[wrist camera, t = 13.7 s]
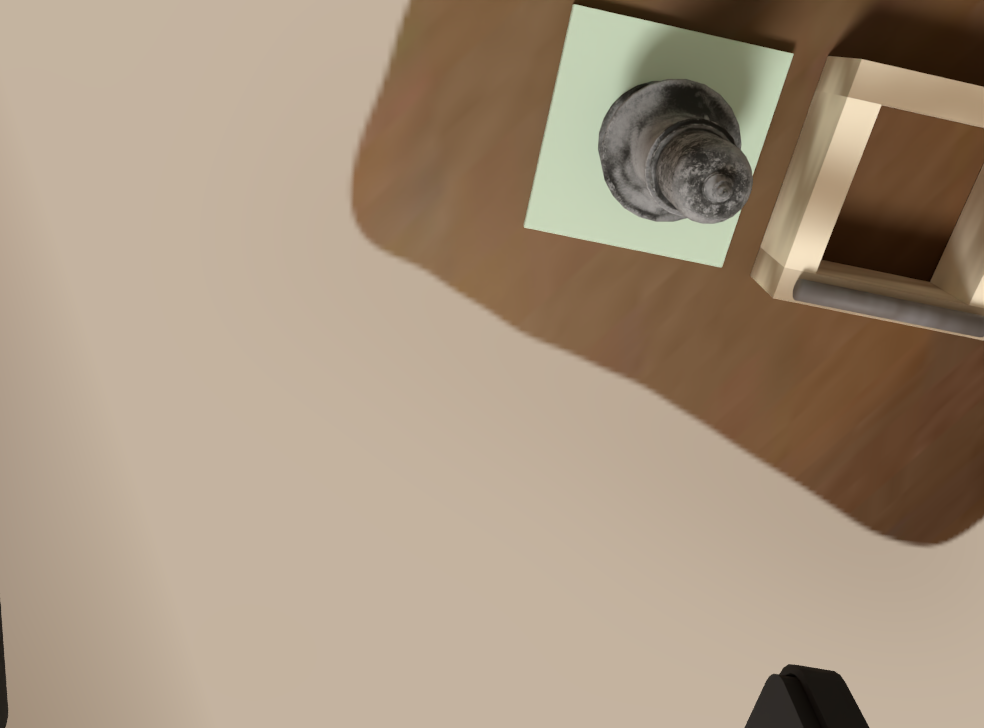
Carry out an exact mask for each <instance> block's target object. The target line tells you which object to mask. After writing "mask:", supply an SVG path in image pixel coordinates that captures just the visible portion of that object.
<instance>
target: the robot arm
mask: <svg viewBox="0 0 984 728" xmlns="http://www.w3.org/2000/svg"><path fill="white" fill-rule="evenodd" d="M7 718H8V702H7V688H6V674H5V660H4V646H3V632H2V618H1V604H0V728H5V727H6V723H7ZM745 728H869V726H868V724H867V723H866V720H865V719H864V717H863V715H862V713H861V711H860V709H859V707H858V705H857V704H856V702H855V700H854V698H853V696H852V694H851V692H850V690H849V688H848V687H847V685H846V683H845V681H844V680H843V679H842V677H841V676H840V675H839V674H838V673H836V672H835V671H830V670H824V669H818V668H811V667H805V666H799V665H790V664H789V665H787V666H786V667H784V668H783V669H782V671H781V673H780V674H779V675H778V674H772V675H771V676H770V677H769V678H768V679H767V681H766V683H765V686H764V687H763V689H762V692H761V694H760V696H759V698H758V700H757V702H756V704H755V706H754V709H753V711H752V713H751V715H750V717H749V719H748V721H747V724H746V726H745Z"/></svg>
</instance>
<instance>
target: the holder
mask: <svg viewBox="0 0 984 728" xmlns="http://www.w3.org/2000/svg"><path fill="white" fill-rule="evenodd" d="M881 105H883V106H888V107H892V108H897V109H901V110H906V111H910V112H914V113H919V114H923V115H928V116H932V117H937V118H941V119H946V120H950V121H955V122H959V123H964V124H968V125H973V126H977V127H982V128H984V87H982V86H978V85H973V84H969V83H965V82H960V81H956V80H951V79H947V78H943V77H938V76H934V75H929V74H925V73H921V72H916V71H912V70H907V69H903V68H899V67H894V66H890V65H886V64H881V63H877V62H872V61H868V60H864V59H856V58H845V57H835V56H828V57H827V60H826V63H825V66H824V68H823V71H822V74H821V77H820V80H819V82H818V85H817V88H816V91H815V94H814V97H813V99H812V102H811V105H810V108H809V111H808V114H807V116H806V119H805V122H804V125H803V128H802V130H801V133H800V136H799V139H798V142H797V145H796V147H795V150H794V153H793V156H792V159H791V162H790V164H789V167H788V170H787V173H786V176H785V179H784V181H783V184H782V187H781V190H780V193H779V195H778V198H777V201H776V204H775V207H774V210H773V212H772V215H771V218H770V221H769V224H768V227H767V229H766V232H765V235H764V238H763V241H762V243H761V246H760V249H759V252H758V255H757V258H756V260H755V263H754V266H753V269H752V272H751V275H750V276H751V277H752V278H753V279H754V280H755V281H756V282H757V283H758V284H759V285H760V286H761V287H762V288H763V289H764V290H765V291H766V292H767V293H768V294H769V295H770V296H771V297H772V298H775V299H780V300H785V301H790V302H795V303H800V304H805V305H810V306H815V307H820V308H825V309H830V310H835V311H840V312H845V313H850V314H855V315H860V316H865V317H870V318H875V319H879V320H884V321H889V322H894V323H899V324H904V325H909V326H914V327H919V328H924V329H929V330H934V331H939V332H944V333H949V334H954V335H959V336H964V337H969V338H974V339H979V340H984V164H983V166H982V169H981V171H980V173H979V175H978V177H977V180H976V182H975V184H974V186H973V188H972V191H971V193H970V195H969V197H968V199H967V202H966V204H965V206H964V208H963V210H962V213H961V215H960V217H959V219H958V221H957V224H956V226H955V228H954V230H953V232H952V235H951V237H950V239H949V241H948V243H947V246H946V248H945V250H944V252H943V254H942V257H941V259H940V261H939V263H938V265H937V268H936V270H935V272H934V274H933V276H932V279H931V281H930V282H928V281H923V280H918V279H913V278H908V277H903V276H898V275H894V274H889V273H884V272H879V271H874V270H869V269H864V268H860V267H855V266H850V265H845V264H840V263H835V262H830V261H826V260H821V259H822V256H823V254H824V251H825V249H826V246H827V243H828V241H829V238H830V236H831V233H832V231H833V228H834V225H835V223H836V220H837V218H838V215H839V213H840V210H841V208H842V205H843V202H844V200H845V197H846V195H847V192H848V190H849V187H850V184H851V182H852V179H853V177H854V174H855V172H856V169H857V166H858V164H859V161H860V159H861V156H862V154H863V151H864V149H865V146H866V143H867V141H868V138H869V136H870V133H871V131H872V128H873V125H874V123H875V120H876V118H877V115H878V113H879V110H880V107H881Z"/></svg>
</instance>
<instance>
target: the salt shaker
mask: <svg viewBox="0 0 984 728" xmlns="http://www.w3.org/2000/svg"><path fill="white" fill-rule="evenodd" d="M741 145H742V143H741V135H740V127H739V124H738V121H737V119H736V117H735V114H734V112H733V110H732V108H731V107H730V105H729V104H728V103H727V102H726V101H725V99H724V98H723V97H722V96H721V95H720V94H719V93H717V92H716V91H714V90H713V89H711V88H710V87H708V86H707V85H705V84H702V83H699V82H695V81H692V80H688V79H666V80H662V81H651V82H647V83H643V84H640V85H637V86H635V87H633V88H632V89H630V90H628V91H627V92H625V93H623V94H622V95H621V96H620V97H619V98H618V99H617V100H616V101H615V102H614V103H613V104H612V105H611V107H610V109H609V110H608V112H607V114H606V115H605V117H604V119H603V122H602V125H601V128H600V131H599V139H598V151H599V156H600V161H601V166H602V170H603V175H604V180H605V182H606V184H607V186H608V188H609V190H610V191H611V193H612V195H613V197H614V198H615V199H616V200H617V201H618V202H619V203H620V204H621V205H622V206H623V207H624V208H625V209H627V210H628V211H630V212H632V213H633V214H635V215H637V216H638V217H641V218H644V219H648V220H652V221H655V222H674V221H678V220H682V219H686V218H688V219H690V220H691V221H695V222H698V223H702V224H715V223H719V222H723V221H725V220H727V219H729V218H731V217H733V216H734V215H735V214H736V213H738V212H739V211H740V210H741V209H742V207H743V206H744V205H745V203H746V202H747V200H748V198H749V195H750V193H751V190H752V183H753V176H752V169H751V166H750V164H749V161H748V159H747V157H746V156H745V154H744V153H743V152H742V151H741Z"/></svg>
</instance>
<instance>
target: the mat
mask: <svg viewBox="0 0 984 728" xmlns="http://www.w3.org/2000/svg"><path fill="white" fill-rule="evenodd" d="M792 57H793V54H792V53H788V52H783V51H779V50H775V49H770V48H766V47H761V46H757V45H752V44H748V43H744V42H739V41H735V40H730V39H726V38H722V37H717V36H713V35H708V34H704V33H700V32H695V31H691V30H686V29H682V28H677V27H673V26H669V25H664V24H660V23H655V22H651V21H647V20H642V19H638V18H633V17H629V16H624V15H620V14H616V13H611V12H607V11H602V10H598V9H594V8H589V7H585V6H580V5H576V4H573V6H572V11H571V15H570V19H569V24H568V28H567V33H566V37H565V42H564V46H563V51H562V55H561V60H560V64H559V69H558V73H557V78H556V82H555V87H554V91H553V96H552V100H551V105H550V109H549V114H548V118H547V123H546V127H545V132H544V136H543V141H542V145H541V149H540V154H539V158H538V163H537V167H536V172H535V176H534V181H533V185H532V190H531V194H530V199H529V203H528V208H527V212H526V217H525V221H524V228H529V229H534V230H539V231H544V232H549V233H554V234H559V235H564V236H569V237H574V238H579V239H584V240H588V241H593V242H598V243H603V244H608V245H613V246H618V247H623V248H628V249H633V250H638V251H643V252H648V253H653V254H657V255H662V256H667V257H672V258H677V259H682V260H687V261H692V262H697V263H702V264H707V265H712V266H717V267H722V265H723V262H724V259H725V256H726V253H727V250H728V247H729V244H730V242H731V239H732V236H733V233H734V230H735V227H736V224H737V221H738V218H739V215H740V212H741V210H740V211H739V212H738V213H736V214H735V215H734V216H733V217H731V218H729V219H727V220H725V221H723V222H719V223H715V224H702V223H698V222H695V221H691V220H690V219H688V218H686V219H682V220H678V221H674V222H655V221H652V220H648V219H644V218H641V217H638V216H637V215H635V214H633V213H632V212H630V211H628V210H627V209H625V208H624V207H623V206H622V205H621V204H620V203H619V202H618V201H617V200H616V199H615V198H614V197H613V195H612V193H611V191H610V190H609V188H608V186H607V184H606V182H605V180H604V175H603V170H602V166H601V161H600V156H599V151H598V139H599V131H600V128H601V125H602V122H603V119H604V117H605V115H606V114H607V112H608V110H609V109H610V107H611V105H612V104H613V103H614V102H615V101H616V100H617V99H618V98H619V97H620V96H621V95H622V94H623V93H625V92H627V91H628V90H630V89H632V88H633V87H635V86H637V85H640V84H643V83H647V82H651V81H662V80H666V79H688V80H692V81H695V82H699V83H702V84H705V85H707V86H708V87H710V88H711V89H713V90H714V91H716V92H717V93H719V94H720V95H721V96H722V97H723V98H724V99H725V101H726V102H727V103H728V104H729V105H730V107H731V108H732V110H733V112H734V114H735V117H736V119H737V121H738V124H739V127H740V135H741V143H742V145H741V151H742V152H743V153H744V154H745V156H746V157H747V159H748V161H749V164H750V166H751V169H752V176H753V173H754V170H755V167H756V164H757V161H758V158H759V155H760V152H761V149H762V147H763V144H764V141H765V138H766V135H767V132H768V129H769V126H770V123H771V120H772V117H773V114H774V111H775V108H776V105H777V102H778V99H779V96H780V93H781V90H782V87H783V84H784V81H785V78H786V75H787V72H788V69H789V66H790V63H791V60H792Z"/></svg>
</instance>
